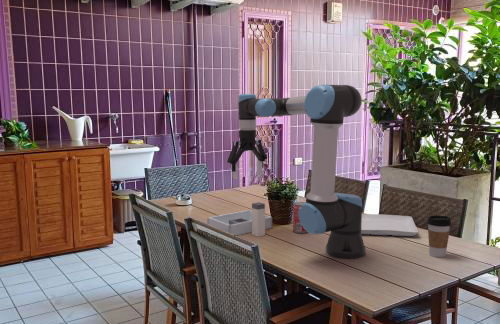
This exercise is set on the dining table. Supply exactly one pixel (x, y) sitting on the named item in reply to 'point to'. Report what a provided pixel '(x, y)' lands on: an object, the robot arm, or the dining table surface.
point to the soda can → (297, 218)
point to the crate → (236, 222)
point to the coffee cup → (438, 235)
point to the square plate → (388, 225)
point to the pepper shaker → (258, 219)
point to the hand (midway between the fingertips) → (247, 177)
